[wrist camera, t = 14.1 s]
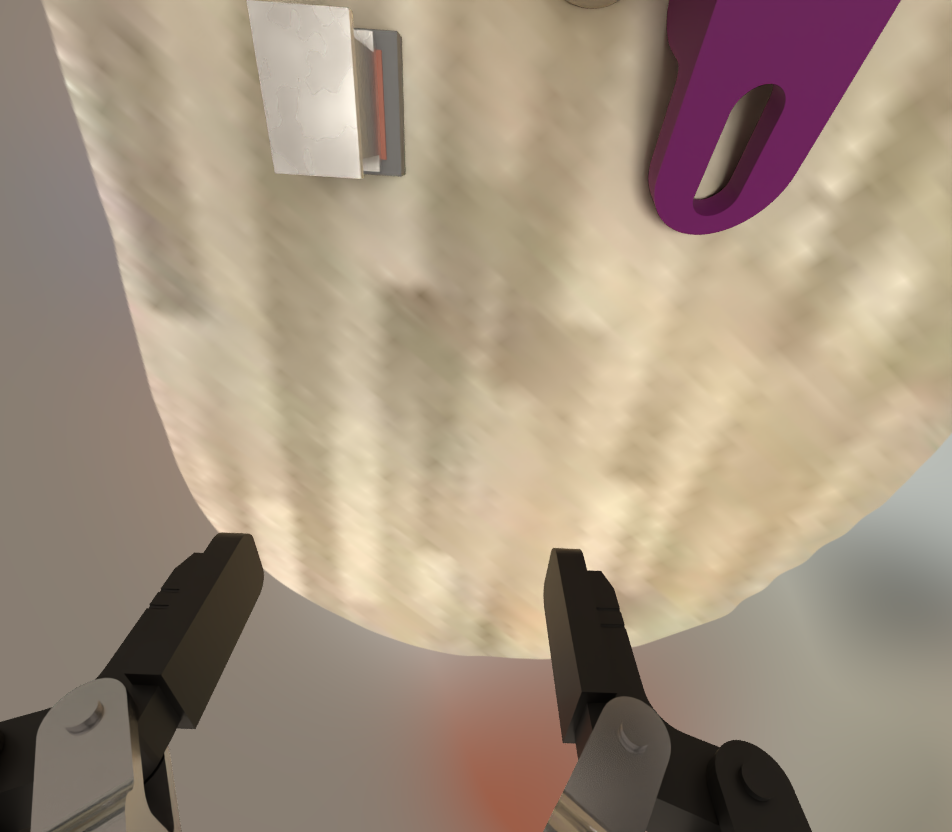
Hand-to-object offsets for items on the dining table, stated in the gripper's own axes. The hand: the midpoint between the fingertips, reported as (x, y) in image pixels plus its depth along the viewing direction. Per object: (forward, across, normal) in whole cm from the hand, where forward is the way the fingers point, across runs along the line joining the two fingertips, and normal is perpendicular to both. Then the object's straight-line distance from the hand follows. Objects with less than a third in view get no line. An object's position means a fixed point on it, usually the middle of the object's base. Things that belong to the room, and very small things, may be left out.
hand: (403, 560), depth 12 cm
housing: (+28, +8, -11) cm, 31 cm away
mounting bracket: (+31, -18, -14) cm, 38 cm away
